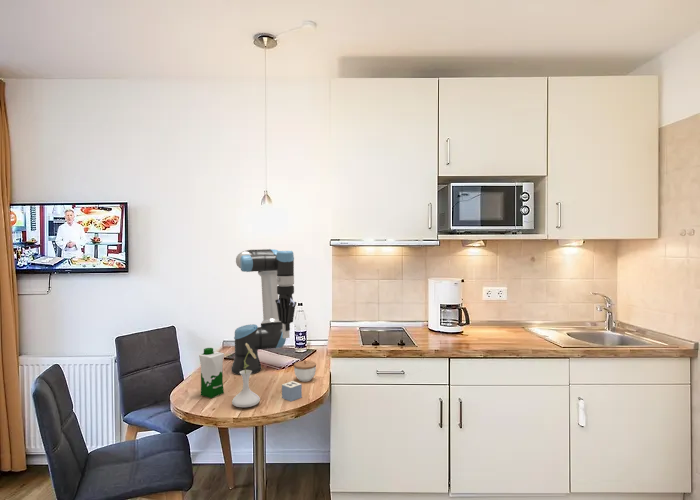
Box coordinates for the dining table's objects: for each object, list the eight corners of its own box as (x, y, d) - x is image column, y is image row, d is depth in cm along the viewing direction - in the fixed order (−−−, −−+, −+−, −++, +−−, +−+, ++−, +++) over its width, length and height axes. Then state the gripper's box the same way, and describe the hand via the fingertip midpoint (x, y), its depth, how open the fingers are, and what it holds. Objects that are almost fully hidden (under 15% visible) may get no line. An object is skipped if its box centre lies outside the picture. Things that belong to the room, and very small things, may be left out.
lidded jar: (312, 384, 195) (312, 364, 195) (291, 382, 197) (290, 363, 197) (318, 376, 205) (318, 358, 205) (298, 375, 207) (298, 356, 207)
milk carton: (213, 389, 189) (212, 346, 188) (227, 393, 184) (226, 348, 183) (197, 395, 181) (196, 350, 181) (211, 399, 176) (210, 353, 176)
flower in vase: (258, 409, 165) (257, 347, 165) (229, 410, 164) (228, 348, 164) (262, 397, 178) (261, 340, 178) (235, 398, 177) (234, 340, 177)
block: (290, 387, 174) (290, 401, 174) (301, 383, 178) (301, 397, 178) (281, 384, 178) (281, 398, 178) (292, 380, 182) (292, 394, 182)
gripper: (270, 284, 186) (270, 336, 186) (287, 287, 177) (287, 341, 177) (283, 283, 191) (284, 334, 192) (301, 285, 182) (301, 338, 182)
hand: (286, 337), depth 184 cm, fingers closed
